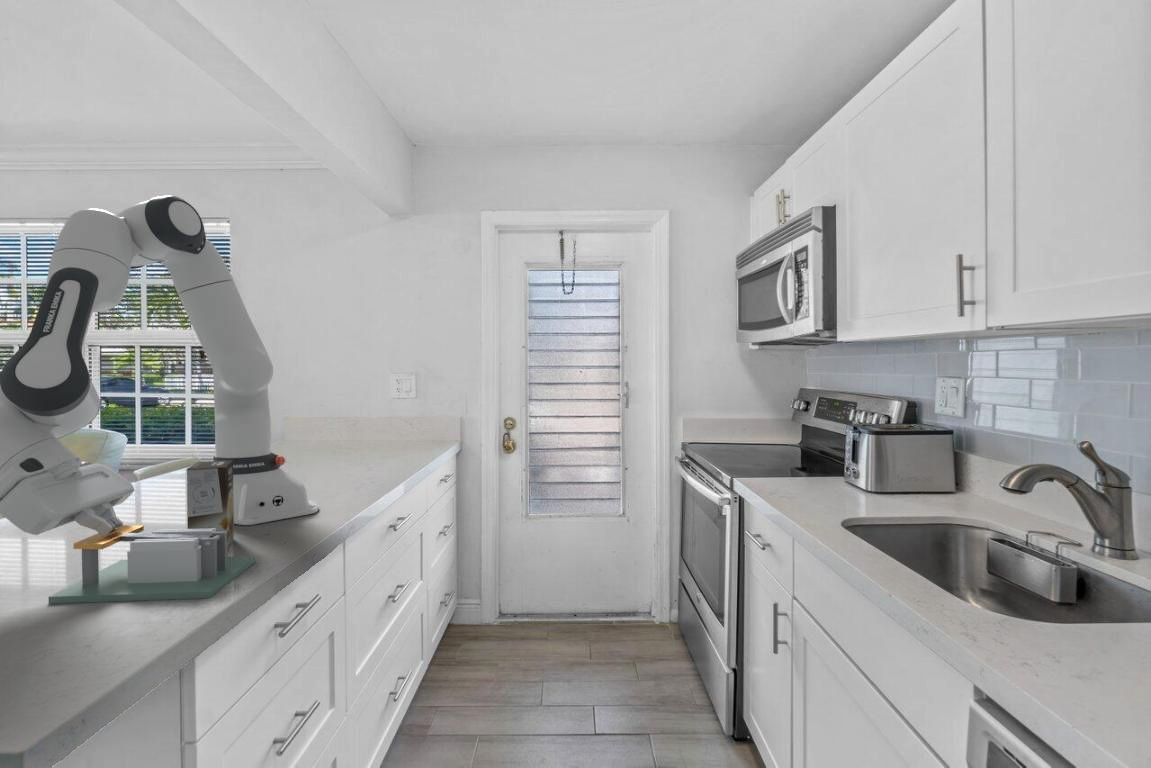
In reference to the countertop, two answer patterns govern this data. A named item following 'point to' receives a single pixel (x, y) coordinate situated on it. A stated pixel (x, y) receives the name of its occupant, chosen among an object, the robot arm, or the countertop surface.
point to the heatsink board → (148, 590)
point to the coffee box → (211, 497)
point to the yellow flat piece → (126, 537)
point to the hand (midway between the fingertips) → (114, 530)
